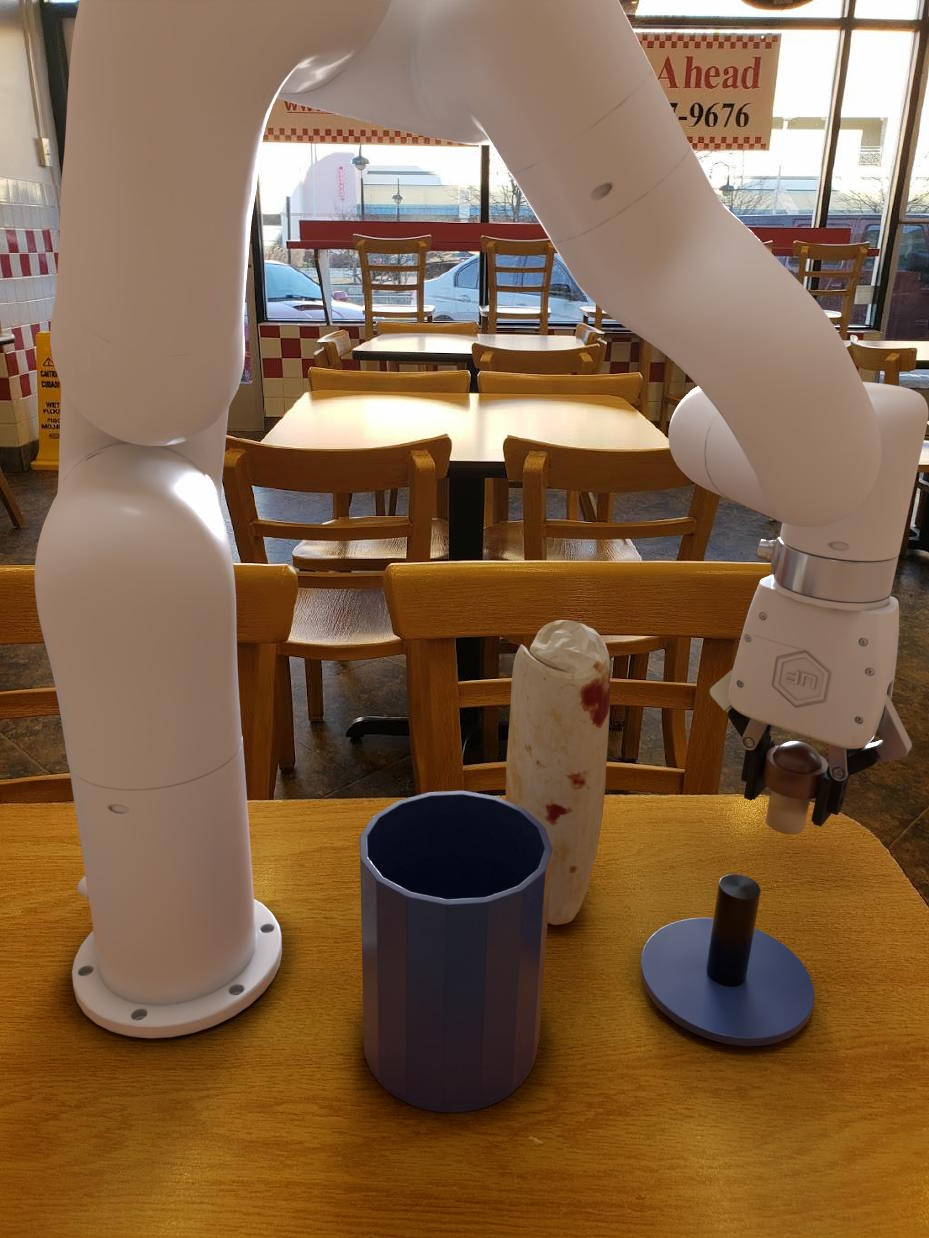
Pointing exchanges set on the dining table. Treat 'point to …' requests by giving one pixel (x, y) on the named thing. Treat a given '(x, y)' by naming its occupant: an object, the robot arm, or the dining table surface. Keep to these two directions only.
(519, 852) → the pot
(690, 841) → the dining table surface
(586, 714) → the food model
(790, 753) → the mushroom
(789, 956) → the lid
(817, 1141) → the dining table surface
